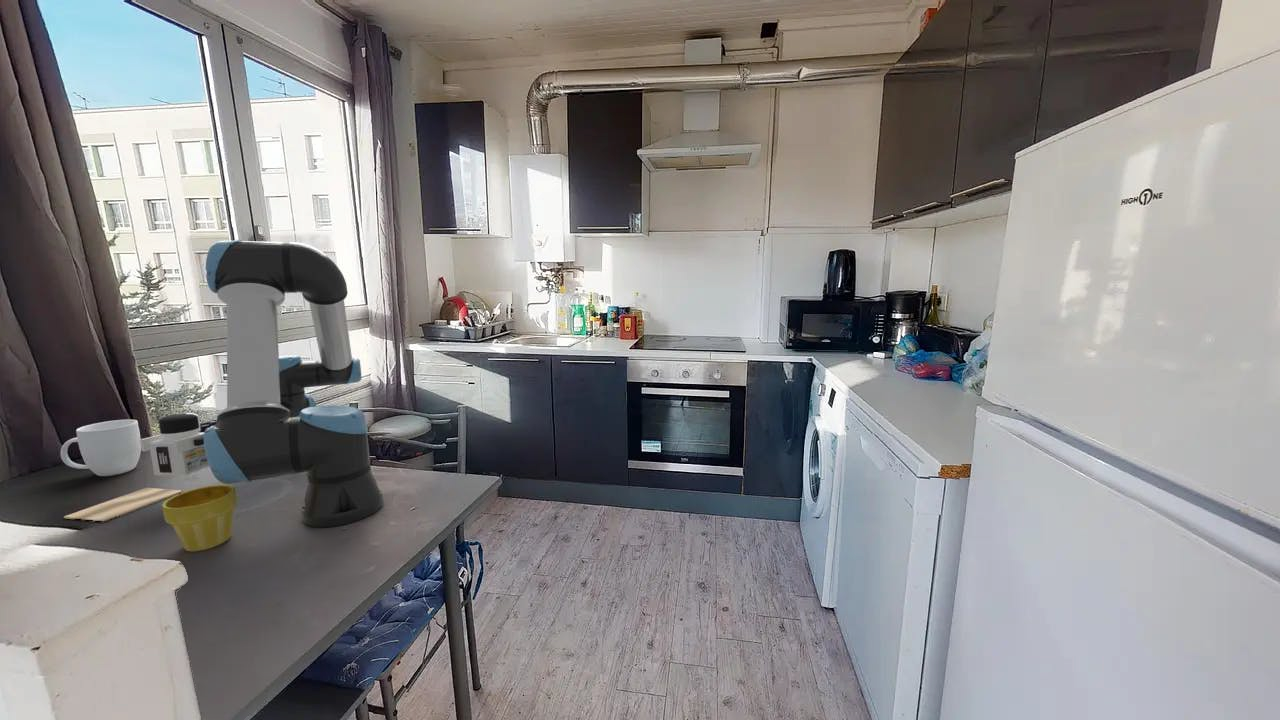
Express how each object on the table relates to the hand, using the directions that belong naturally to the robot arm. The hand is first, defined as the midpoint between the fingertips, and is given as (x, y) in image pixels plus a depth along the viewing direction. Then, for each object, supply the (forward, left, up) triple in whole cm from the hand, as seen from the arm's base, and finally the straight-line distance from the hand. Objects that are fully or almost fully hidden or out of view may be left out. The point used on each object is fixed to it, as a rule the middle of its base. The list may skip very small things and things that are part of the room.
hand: (158, 446), depth 104 cm
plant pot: (-24, +11, -15) cm, 30 cm away
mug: (+40, -14, -15) cm, 45 cm away
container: (0, -5, -7) cm, 9 cm away
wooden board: (+12, 0, -14) cm, 19 cm away
